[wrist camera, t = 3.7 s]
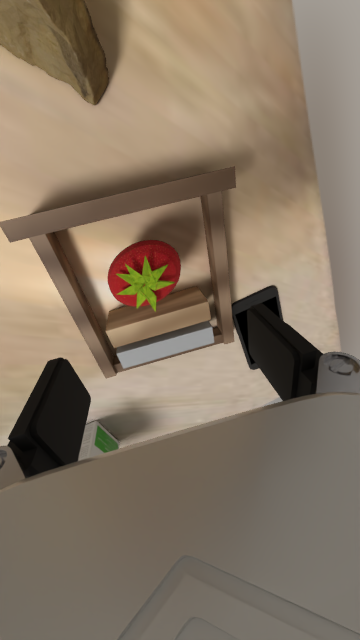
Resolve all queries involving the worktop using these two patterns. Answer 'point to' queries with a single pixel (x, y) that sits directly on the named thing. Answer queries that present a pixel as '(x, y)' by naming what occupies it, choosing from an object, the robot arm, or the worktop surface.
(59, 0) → the rock
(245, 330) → the smartphone
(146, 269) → the strawberry
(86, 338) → the rack
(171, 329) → the inner offcut board
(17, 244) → the worktop surface
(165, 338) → the outer offcut board
